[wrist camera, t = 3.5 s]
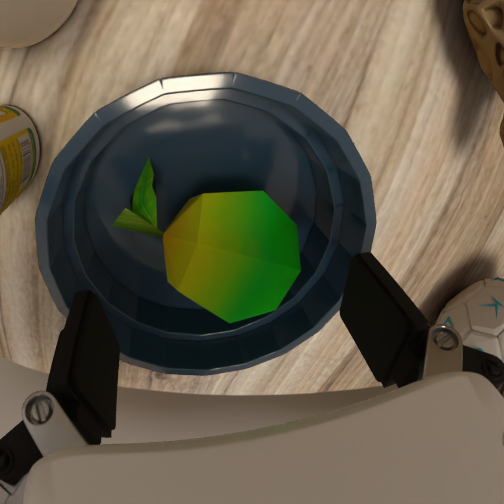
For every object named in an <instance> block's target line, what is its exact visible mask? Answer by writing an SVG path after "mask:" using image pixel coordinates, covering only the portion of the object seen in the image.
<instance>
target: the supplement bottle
mask: <svg viewBox="0 0 504 504" xmlns="http://www.w3.org/2000/svg"><path fill="white" fill-rule="evenodd" d="M39 153H40V149H39V140H38V135H37V132H36V129H35V127H34V125H33V123H32V122H31V120H30V119H29V117H28V116H27V115H26V114H25V113H24V112H22V111H21V110H20V109H18V108H16V107H13V106H8V105H0V214H1V213H2V212H3V211H4V210H5V209H6V208H7V207H8V206H9V205H10V204H11V203H12V202H13V201H14V200H15V199H16V198H17V197H18V196H19V195H20V194H21V193H22V192H23V191H24V190H25V189H26V188H27V187H28V186H29V184H30V183H31V181H32V180H33V178H34V175H35V173H36V170H37V167H38V162H39Z"/></svg>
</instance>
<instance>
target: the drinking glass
mask: <svg viewBox="0 0 504 504" xmlns="http://www.w3.org/2000/svg"><path fill="white" fill-rule="evenodd" d="M77 1H78V0H0V48H9V49H17V48H25V47H28V46H31V45H34V44H36V43H39V42H40V41H42V40H44V39H46V38H47V37H49V36H50V35H51V34H53V33H54V32H55V31H56V30H57V29H58V28H59V27H60V26H61V25H62V24H63V23H64V22H65V21H66V19H67V18H68V17H69V15H70V14H71V12H72V11H73V9H74V7H75V5H76V3H77Z"/></svg>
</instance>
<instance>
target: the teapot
mask: <svg viewBox="0 0 504 504" xmlns="http://www.w3.org/2000/svg"><path fill="white" fill-rule="evenodd" d="M463 17H464V22H465V25H466V30H467V32H468V34H469V36H470V38H471V41H472V44H473V46H474V49H475V51H476V54H477V57H478V60H479V64H480V66H481V69H482V70H483V71H484V72H485V74H486V75H487V77H488V78H489V80H490V81H491V83H492V84H493V85H494V87H495V89H496V90H497V92H498V94H499V95H500V97H501V99H502V101H503V102H504V0H464V3H463ZM500 137H501V140H502V142H503V146H504V116H503V120H502V122H501V125H500Z"/></svg>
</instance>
